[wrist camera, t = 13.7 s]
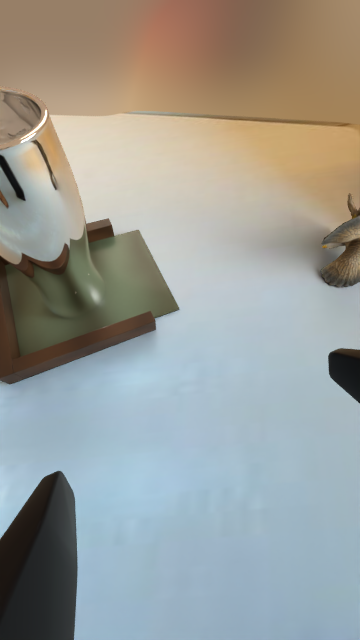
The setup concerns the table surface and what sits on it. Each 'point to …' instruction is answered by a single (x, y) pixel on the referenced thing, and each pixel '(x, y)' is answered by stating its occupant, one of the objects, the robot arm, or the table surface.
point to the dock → (91, 329)
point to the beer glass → (43, 209)
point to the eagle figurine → (356, 258)
